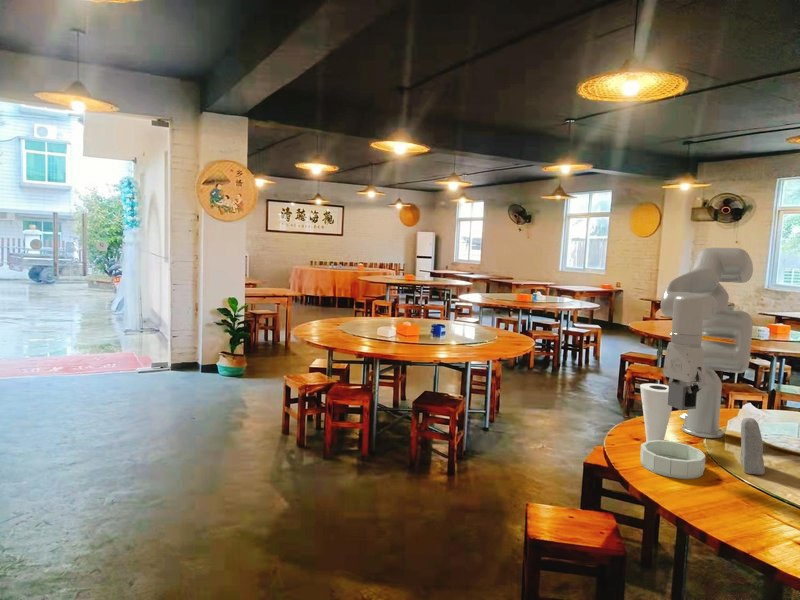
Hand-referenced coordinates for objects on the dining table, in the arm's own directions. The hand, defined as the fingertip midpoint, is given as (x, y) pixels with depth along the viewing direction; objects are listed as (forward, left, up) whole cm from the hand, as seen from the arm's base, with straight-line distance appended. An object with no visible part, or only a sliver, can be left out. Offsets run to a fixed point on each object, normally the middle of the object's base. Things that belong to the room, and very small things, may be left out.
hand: (681, 402), depth 152 cm
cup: (-19, +9, -19) cm, 29 cm away
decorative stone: (+5, +21, -20) cm, 29 cm away
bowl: (-1, -1, -19) cm, 19 cm away
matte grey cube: (0, 0, -1) cm, 1 cm away
